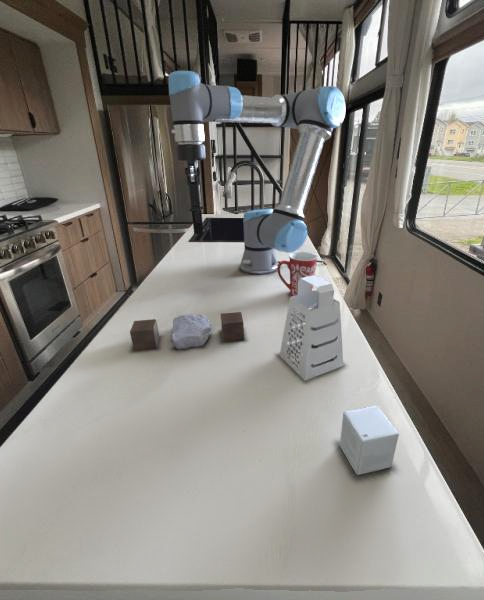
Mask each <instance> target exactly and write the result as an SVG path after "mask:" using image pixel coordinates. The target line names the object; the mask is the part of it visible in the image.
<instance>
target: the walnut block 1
mask: <svg viewBox="0 0 484 600" xmlns="http://www.w3.org/2000/svg"><path fill="white" fill-rule="evenodd" d="M157 321H158V320H157V318H152V319H142V320H141V319H140V320H133V323H132V326H131V328H130V331H129V335H130V339H131V343H132V348H133V351H134V352H136V351H149V350H156V349H158V344H159V340H160V333H159V327H158V322H157Z"/></svg>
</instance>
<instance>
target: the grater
mask: <svg viewBox="0 0 484 600" xmlns="http://www.w3.org/2000/svg"><path fill="white" fill-rule="evenodd" d="M312 285H313V287H315V288H316V289H315V290H313V291H311V287H312ZM334 295H335V288H334V286H333V284H332V283H331V282H330V281H328V280H326V279H324V278H322V277H320V276H318V275H316V274H315V275H312V276H308V277H303V278H300V279H299V281H298V295H295V296H291V295H290V298H289V302H288V308H287V311H286V318H285V324H284V329H283V334H282V340H281V345H280V351H279V357H280V358H282V359H283V361H285V362H286V363H287V364H288V365H289V367H291V368H292V370H294V371H295V373H297V374H298V375H299V376H300V378H302V379H303V380H304V381H309V380H310V379H314V378H316V377H318V376H321V375H323V374H326V373H329V372H332V371H334V370H337V369H339V368H341V367H344V352H343V350H344V349H343V335H342V334H343V333H342V318H341V317H342V316H341V303H340V301H338V300H337V299H335V298H334ZM304 323H305V324H304ZM312 346H318V347H316V348H313V347H312ZM332 359H334V360H332ZM329 360H332V361H329ZM327 361H329V362H327ZM298 362H299V363H298ZM324 362H327V363H324ZM321 363H324V364H321ZM318 364H321V365H318ZM312 365H315V366H316V365H318V366H316V367H312Z"/></svg>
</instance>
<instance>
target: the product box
mask: <svg viewBox="0 0 484 600" xmlns="http://www.w3.org/2000/svg"><path fill="white" fill-rule="evenodd" d="M399 435H400V433H399V432H398V430H397V429H396V428H395V427H394V425H393V424H392V423H391V422H390V419H388V418H387V416H386V415H385V413H384V412H383V411H382V409H381V408H380V406H379V405H372V406H371V405H370V406H367V407H362V408H358V409H357V408H356V409H353V410H348V411H347V410H346V411H343V413H342V421H341V431H340V439H339V446H340V448H341V450H342V451H343V454H344V455H345V457H346V459H347V460H348V462H349V464H350V466H351V468H352V469H353V471H354V474H356V476H359V475H364V474H368V473H373V472H377V471H380V470H384V469H389V468H392V466H393V463H394V458H395V454H396V450H397V449H396V448H397V444H398V439H399Z"/></svg>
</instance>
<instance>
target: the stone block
mask: <svg viewBox="0 0 484 600" xmlns="http://www.w3.org/2000/svg"><path fill="white" fill-rule="evenodd" d="M211 329H212V324H211V323H210V320H209V319H208V317H207V316H206V315H202V314H193V313H190V314H181V315H177V316H175V317H174V318H173V320H172V334H171V337H172V345H173V347H174V348H175V349H176V350H181V349H184V350H185V349H189V348H196V347H197V348H198V347H202V346H204V345H205V343H206V342H207V340H208V338H209V337H210V332H211Z"/></svg>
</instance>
